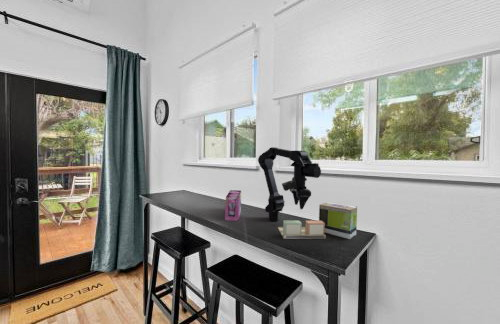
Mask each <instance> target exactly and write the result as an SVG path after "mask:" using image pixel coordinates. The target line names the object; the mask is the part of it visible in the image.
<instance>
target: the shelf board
mask: <svg viewBox="0 0 500 324" xmlns="http://www.w3.org/2000/svg"><path fill="white" fill-rule="evenodd" d="M277 230H278V231H279V232H280V235H281V237H282V238H283V240H284V239H286V240H288V239H290V240H291V239H292V240H293V239H294V240H297V239H298V240H299V239H302V240H304V239H306V240H308V239H309V240H313V239H315V240H316V239H318V240H319V239H320V240H321V239H322V240H323V239H327V235H326V234H324V235H305V226H302V231H301V235H283V226H277Z"/></svg>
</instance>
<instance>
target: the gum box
mask: <svg viewBox="0 0 500 324" xmlns="http://www.w3.org/2000/svg"><path fill="white" fill-rule="evenodd" d="M241 212H242V190H232V189H231V190H229V191H228V193H227V194H226V196H225V212H224V221H228V222H229V221H230V222H231V221H234V222H235V221H236V222H238V221H239V219H240V216H241Z"/></svg>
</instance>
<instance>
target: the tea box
mask: <svg viewBox="0 0 500 324" xmlns="http://www.w3.org/2000/svg"><path fill="white" fill-rule="evenodd" d="M318 206H319V210H318V212H319V213H318V215H319V216H318V221H322V222H324V223H325V228H324V234H329V235H332V236H336V237H340V238H344V239H348V240H351V239H352V238H353V237H355V236H357V221H358V218H357V217H358V206H356V205H350V204H349V205H348V204H345V203H344V204H343V203H336V202H332V201H326V202H322V203H321V204H319V205H318Z"/></svg>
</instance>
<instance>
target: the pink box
mask: <svg viewBox="0 0 500 324" xmlns="http://www.w3.org/2000/svg"><path fill="white" fill-rule="evenodd" d="M304 227H305V235H325V232H324V228H325V223H324V222H322V221H319V220H305V226H304Z"/></svg>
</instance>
